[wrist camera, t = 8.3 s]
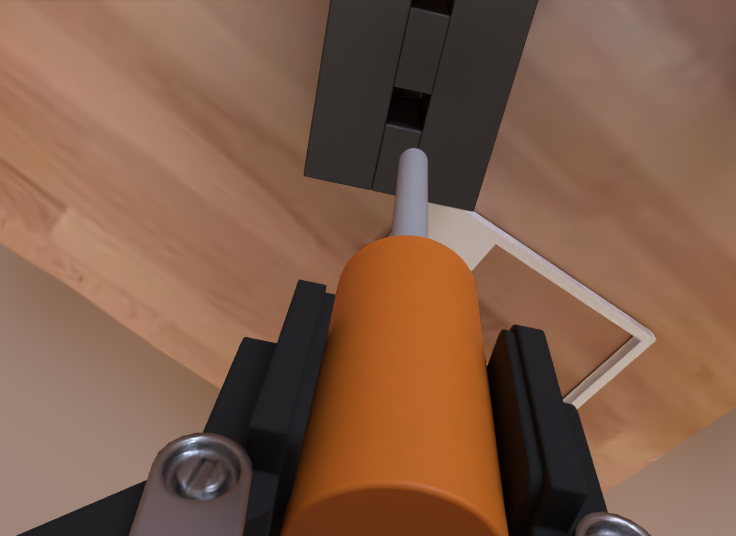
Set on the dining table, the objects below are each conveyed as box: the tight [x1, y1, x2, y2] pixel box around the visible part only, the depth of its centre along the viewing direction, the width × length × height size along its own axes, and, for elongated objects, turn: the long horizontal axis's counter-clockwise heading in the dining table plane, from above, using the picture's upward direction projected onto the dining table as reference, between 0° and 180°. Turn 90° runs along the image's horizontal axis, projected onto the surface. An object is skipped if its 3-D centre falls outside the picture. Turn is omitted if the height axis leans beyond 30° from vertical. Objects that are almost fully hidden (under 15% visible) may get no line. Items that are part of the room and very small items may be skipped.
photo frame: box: [388, 203, 656, 409], centre depth 43 cm, size 15×1×18 cm
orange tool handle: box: [280, 148, 509, 536], centre depth 16 cm, size 3×3×16 cm
